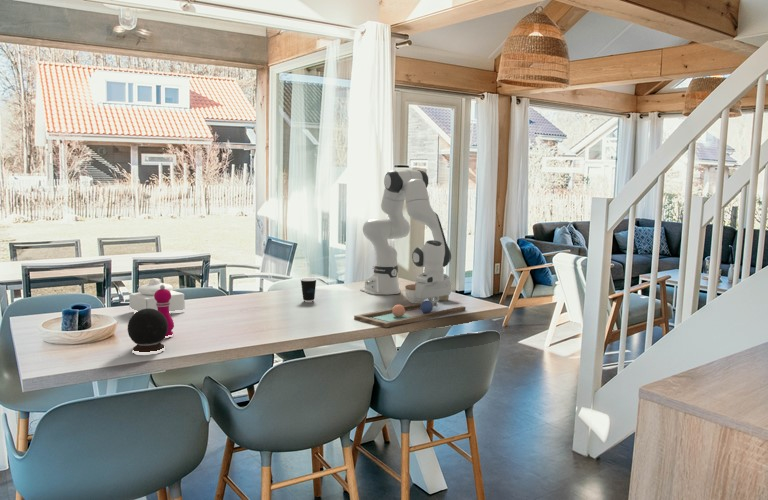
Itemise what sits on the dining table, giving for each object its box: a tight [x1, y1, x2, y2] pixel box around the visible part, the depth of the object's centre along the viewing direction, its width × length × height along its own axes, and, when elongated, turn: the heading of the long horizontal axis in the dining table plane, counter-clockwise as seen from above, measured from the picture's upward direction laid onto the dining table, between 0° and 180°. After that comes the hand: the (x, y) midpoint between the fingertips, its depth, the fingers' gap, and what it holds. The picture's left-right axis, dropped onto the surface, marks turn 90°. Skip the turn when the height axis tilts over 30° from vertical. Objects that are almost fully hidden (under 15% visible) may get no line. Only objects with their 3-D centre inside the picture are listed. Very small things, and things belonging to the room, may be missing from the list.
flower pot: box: [438, 281, 453, 302], centre depth 312 cm, size 9×9×9 cm
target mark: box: [371, 313, 413, 322], centre depth 272 cm, size 14×14×1 cm
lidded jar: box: [404, 282, 426, 304], centre depth 307 cm, size 11×11×9 cm
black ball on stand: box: [127, 308, 168, 352], centre depth 220 cm, size 13×13×15 cm
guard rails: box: [353, 300, 466, 328], centre depth 279 cm, size 20×49×2 cm, turn 132°
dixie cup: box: [300, 277, 318, 303], centre depth 308 cm, size 8×8×11 cm
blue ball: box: [419, 300, 434, 314], centre depth 282 cm, size 6×6×6 cm
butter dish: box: [128, 277, 186, 311], centre depth 283 cm, size 18×18×16 cm
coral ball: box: [391, 304, 406, 317], centre depth 274 cm, size 6×6×6 cm
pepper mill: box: [154, 285, 175, 336], centre depth 239 cm, size 7×7×20 cm
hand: (433, 306), depth 288 cm, fingers closed
